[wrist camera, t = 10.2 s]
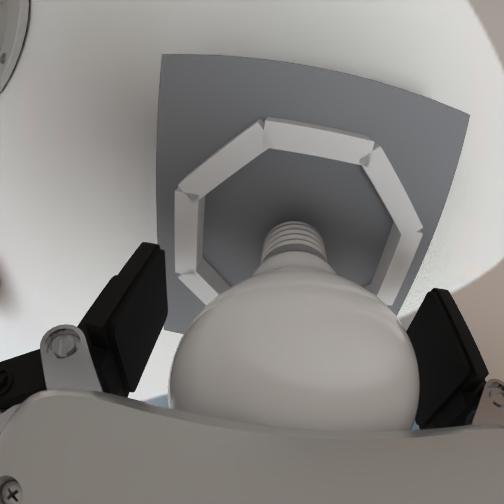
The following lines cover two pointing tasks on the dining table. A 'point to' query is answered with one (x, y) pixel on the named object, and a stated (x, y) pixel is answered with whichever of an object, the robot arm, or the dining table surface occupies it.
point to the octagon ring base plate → (295, 173)
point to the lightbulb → (297, 348)
